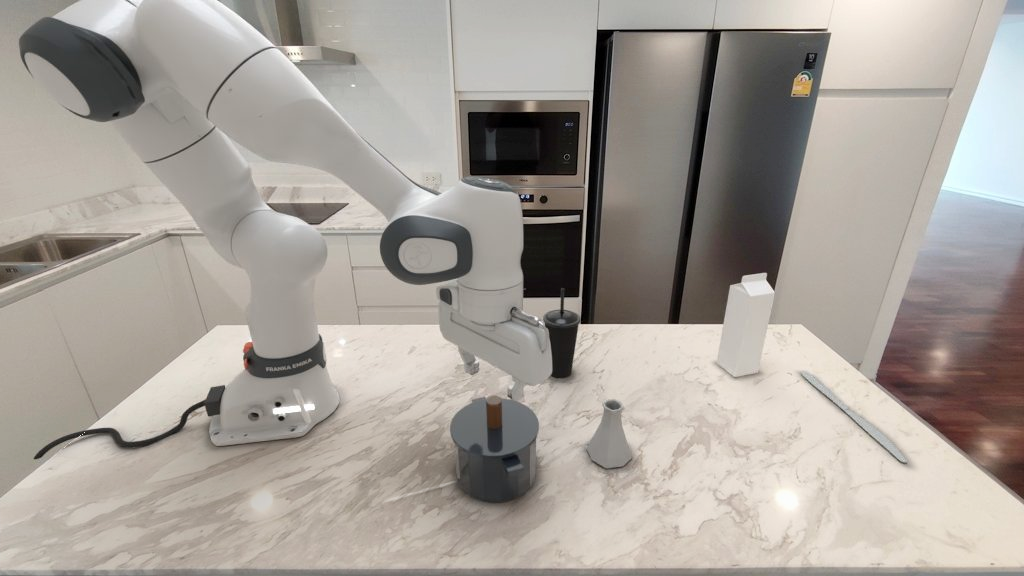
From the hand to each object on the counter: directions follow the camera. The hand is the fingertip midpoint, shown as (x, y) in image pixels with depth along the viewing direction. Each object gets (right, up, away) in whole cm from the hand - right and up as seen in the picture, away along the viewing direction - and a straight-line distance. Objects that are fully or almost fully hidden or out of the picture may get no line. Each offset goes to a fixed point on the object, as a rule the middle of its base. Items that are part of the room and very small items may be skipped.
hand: (492, 384), depth 71 cm
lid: (0, -7, +3) cm, 8 cm away
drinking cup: (+13, -5, +33) cm, 36 cm away
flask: (+19, -14, +10) cm, 26 cm away
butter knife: (+66, -9, +20) cm, 70 cm away
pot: (0, -15, +7) cm, 17 cm away
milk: (+52, -3, +34) cm, 62 cm away
